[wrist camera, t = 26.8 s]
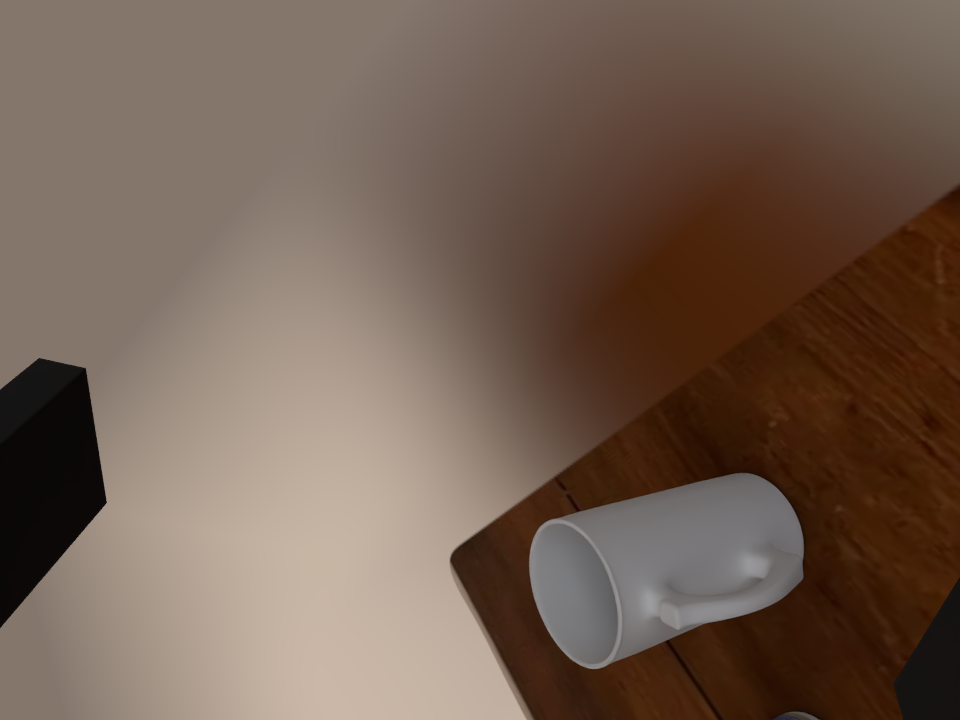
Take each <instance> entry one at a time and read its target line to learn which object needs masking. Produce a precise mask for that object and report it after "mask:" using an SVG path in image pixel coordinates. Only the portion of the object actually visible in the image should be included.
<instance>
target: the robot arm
mask: <svg viewBox="0 0 960 720" xmlns="http://www.w3.org/2000/svg"><path fill="white" fill-rule="evenodd" d="M106 503H107V501H106V495H105V489H104V482H103V476H102V470H101V464H100V457H99V450H98V444H97V437H96V432H95V425H94V418H93V412H92V406H91V399H90V393H89V386H88V381H87V374H86V368H82V367H77V366H73V365H68V364H64V363H59V362H54V361H50V360H45V359H40V358H39V359H37V360H36V361H35V362H34V363H33V364H31V365H30V366H29V367H28V368H26V369H25V370H24V371H23V372H21V373H20V374H19V375H18V376H16V377H15V378H14V379H13V380H12V381H10V382H9V383H8V384H7V385H5V386H4V387H3V388H2V389H1V390H0V628H1V627H2V625H3V624H4V623H5V622H6V621H7V619H8V618H9V617H10V616H11V615H12V614H13V612H14V611H15V610H16V609H17V608H18V606H19V605H20V604H21V603H22V602H23V601H24V599H25V598H26V597H27V596H28V595H29V594H30V592H31V591H32V590H33V589H34V588H35V586H36V585H37V584H38V583H39V582H40V581H41V580H42V578H43V577H44V576H45V575H46V574H47V572H48V571H49V570H50V569H51V568H52V567H53V565H54V564H55V563H56V562H57V561H58V560H59V558H60V557H61V556H62V555H63V554H64V552H65V551H66V550H67V549H68V548H69V547H70V545H71V544H72V543H73V542H74V541H75V540H76V538H77V537H78V536H79V535H80V534H81V532H82V531H83V530H84V529H85V528H86V527H87V525H88V524H89V523H90V522H91V521H92V520H93V518H94V517H95V516H96V515H97V514H98V513H99V511H100V510H101V509H102V508H103V507H104V506H105V504H106ZM894 688H895V692H896V695H897V699H898V702H899V706H900V709H901V713H902V716H903V720H960V578H959V579H958V581H957V583H956V584H955V586H954V587H953V589H952V591H951V592H950V594H949V595H948V597H947V599H946V600H945V602H944V604H943V605H942V607H941V608H940V610H939V612H938V613H937V615H936V616H935V618H934V620H933V621H932V623H931V624H930V626H929V628H928V629H927V631H926V633H925V634H924V636H923V637H922V639H921V641H920V642H919V644H918V645H917V647H916V649H915V650H914V652H913V653H912V655H911V657H910V658H909V660H908V662H907V663H906V665H905V666H904V668H903V670H902V671H901V673H900V674H899V676H898V678H897V679H896V681H895V682H894Z"/></svg>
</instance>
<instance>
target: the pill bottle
mask: <svg viewBox="0 0 960 720" xmlns="http://www.w3.org/2000/svg"><path fill="white" fill-rule="evenodd" d="M771 720H819V719H817V718H816V717H814V716H812V715H809V714H807V713H803V712H788V713H785V714H782V715H780V716H778V717H776V718H773V719H771Z"/></svg>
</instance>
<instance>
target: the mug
mask: <svg viewBox="0 0 960 720" xmlns="http://www.w3.org/2000/svg"><path fill="white" fill-rule="evenodd" d="M803 556H804V541H803V534H802V530H801V526H800V523H799V520H798V518H797V516H796V513H795V511H794V510H793V508H792V506H791V504H790V503H789V501H788V500H787V499H786V497H785V496H784V495H783V494H782V493H781V492H780V491H779V490H778V489H777V488H776V487H775V486H774V485H773V484H771V483H770V482H768V481H767V480H765V479H763V478H761V477H759V476H757V475H754V474H749V473H736V474H731V475H726V476H722V477H718V478H713V479H709V480H704V481H700V482H696V483H692V484H688V485H684V486H680V487H677V488H673V489H669V490H665V491H661V492H657V493H653V494H649V495H645V496H641V497H637V498H633V499H629V500H625V501H621V502H617V503H613V504H608V505H604V506H600V507H596V508H592V509H588V510H585V511H581V512H577V513H574V514H571V515H567V516H564V517H561V518H557V519H552V520H549V521H547V522H545V523H544V524H543V525H542V526H541V527H540V528H539V529H538V530H537V532H536V534H535V536H534V539H533V541H532V545H531V550H530V559H529V570H530V580H531V586H532V591H533V595H534V598H535V602H536V605H537V608H538V610H539V613H540V615H541V618H542V620H543V622H544V624H545V626H546V628H547V630H548V632H549V633H550V635H551V636H552V638H553V640H554V641H555V642H556V644H557V645H558V646H559V648H560V649H561V650H562V651H563V652H564V653H565V654H566V655H567V656H568V657H569V658H570V659H572V660H573V661H574V662H576V663H577V664H579V665H581V666H583V667H586V668H590V669H598V668H602V667H605V666H606V665H608V664H610V663H613V662H615V661H618V660H620V659H623V658H626V657H628V656H631V655H634V654H636V653H639V652H641V651H643V650H646V649H648V648H650V647H652V646H655V645H657V644H659V643H662V642H664V641H666V640H668V639H671V638H673V637H675V636H677V635H680V634H682V633H684V632H687V631H689V630H691V629H693V628H696V627H698V626H700V625H703V624H705V623H710V622H715V621H720V620H725V619H730V618H734V617H738V616H742V615H745V614H749V613H752V612H755V611H758V610H760V609H763V608H765V607H767V606H770V605H772V604H774V603H775V602H777V601H779V600H781V599H782V598H783V597H785V596H786V595H787V594H788V593H789V592H790V591H791V590H792V589H793V588H794V587H795V586H796V585H797V584H798V583H799V582H800V581H801V580H802V579H803V565H802V562H803Z"/></svg>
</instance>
